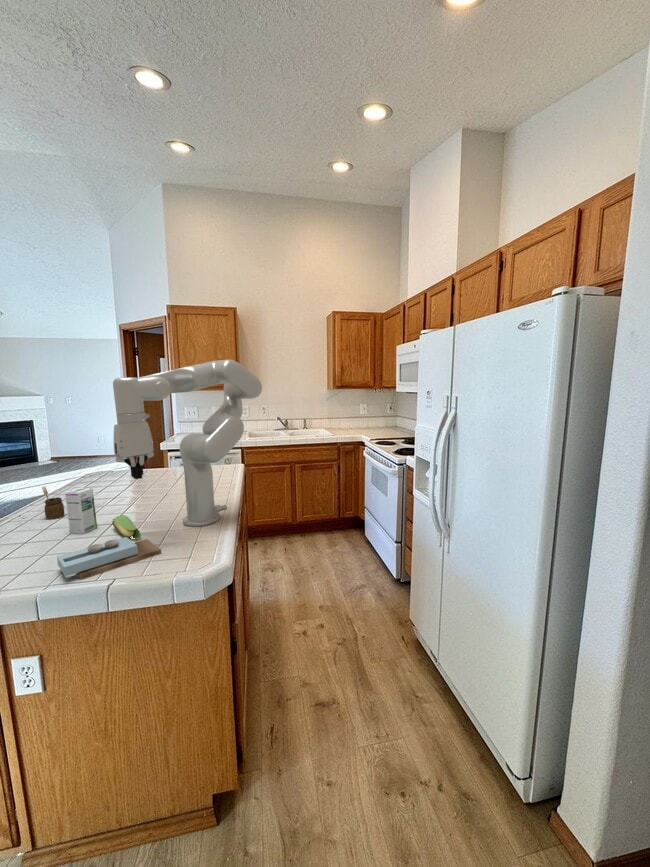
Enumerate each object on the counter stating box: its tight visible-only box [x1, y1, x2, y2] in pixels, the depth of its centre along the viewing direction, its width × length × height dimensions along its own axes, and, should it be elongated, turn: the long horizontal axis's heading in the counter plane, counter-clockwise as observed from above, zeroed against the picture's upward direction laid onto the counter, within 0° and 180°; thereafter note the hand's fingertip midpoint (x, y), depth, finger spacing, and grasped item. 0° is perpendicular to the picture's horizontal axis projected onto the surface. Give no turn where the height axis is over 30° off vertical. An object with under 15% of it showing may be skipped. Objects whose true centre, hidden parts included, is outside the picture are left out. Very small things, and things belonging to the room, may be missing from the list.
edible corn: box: [111, 514, 142, 541], centre depth 122 cm, size 5×20×5 cm
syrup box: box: [64, 487, 98, 535], centre depth 125 cm, size 6×6×14 cm
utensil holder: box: [41, 486, 65, 520], centre depth 140 cm, size 6×6×12 cm
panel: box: [56, 536, 138, 577], centre depth 100 cm, size 17×9×2 cm, turn 135°
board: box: [75, 538, 162, 580], centre depth 103 cm, size 20×11×5 cm, turn 135°
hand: (137, 478), depth 113 cm, fingers closed
